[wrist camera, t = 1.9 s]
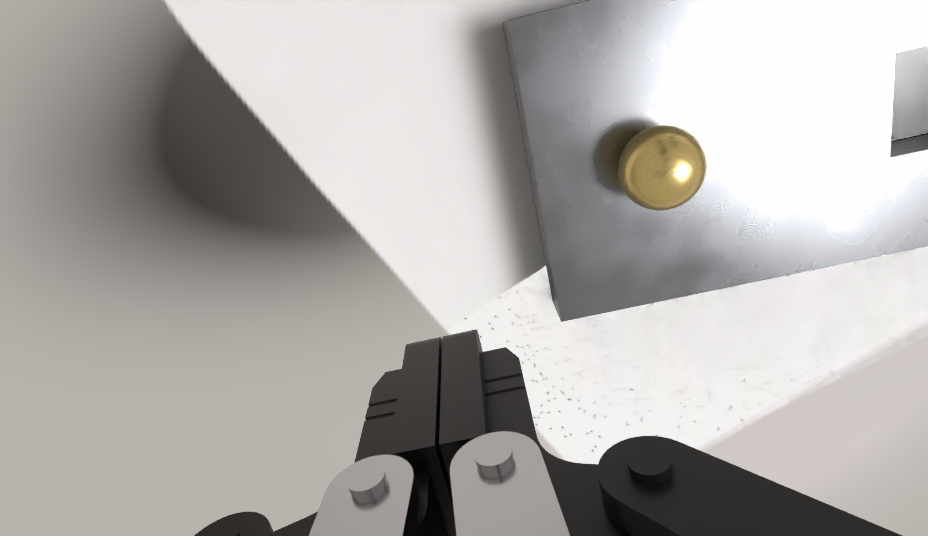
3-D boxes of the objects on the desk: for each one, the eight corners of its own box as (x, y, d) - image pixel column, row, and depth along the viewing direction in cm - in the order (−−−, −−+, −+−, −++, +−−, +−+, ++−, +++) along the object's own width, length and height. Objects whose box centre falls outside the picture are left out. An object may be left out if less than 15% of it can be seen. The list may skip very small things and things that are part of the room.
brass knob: (603, 130, 24) (627, 142, 21) (683, 112, 24) (720, 121, 21) (613, 206, 26) (636, 228, 22) (689, 190, 25) (724, 209, 22)
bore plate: (502, 23, 25) (508, 19, 23) (1055, -108, 24) (1121, -126, 21) (552, 300, 30) (561, 321, 28) (1013, 205, 29) (1063, 218, 26)
